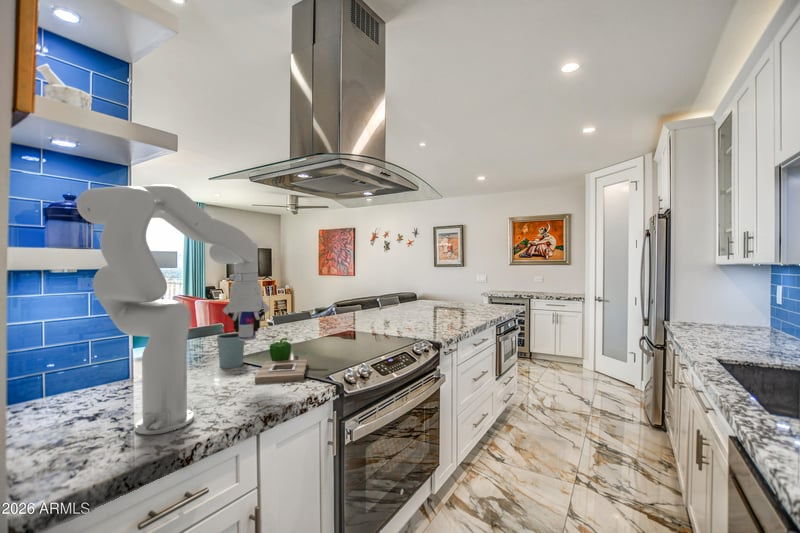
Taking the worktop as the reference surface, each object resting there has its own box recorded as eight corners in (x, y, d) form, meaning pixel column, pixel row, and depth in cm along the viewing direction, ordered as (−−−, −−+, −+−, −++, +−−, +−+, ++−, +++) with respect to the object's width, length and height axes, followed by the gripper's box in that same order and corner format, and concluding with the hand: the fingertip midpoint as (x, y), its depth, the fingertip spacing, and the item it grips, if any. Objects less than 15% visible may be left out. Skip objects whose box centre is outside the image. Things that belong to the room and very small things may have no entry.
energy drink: (251, 340, 120) (251, 305, 119) (235, 341, 120) (235, 305, 120) (258, 337, 125) (257, 303, 125) (242, 337, 125) (242, 303, 125)
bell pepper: (268, 366, 142) (268, 340, 142) (270, 360, 150) (270, 336, 150) (290, 364, 145) (290, 339, 144) (291, 359, 153) (291, 335, 152)
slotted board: (303, 380, 125) (303, 373, 125) (254, 383, 122) (254, 376, 122) (307, 364, 145) (307, 358, 145) (265, 366, 142) (265, 360, 142)
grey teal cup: (238, 368, 139) (238, 337, 139) (211, 368, 139) (211, 337, 139) (248, 361, 149) (248, 332, 149) (224, 361, 149) (224, 332, 149)
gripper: (215, 279, 117) (216, 334, 117) (271, 278, 120) (271, 332, 120) (222, 278, 124) (223, 330, 124) (274, 277, 127) (275, 328, 128)
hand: (247, 330), depth 122 cm, fingers closed on energy drink, 5 cm apart
